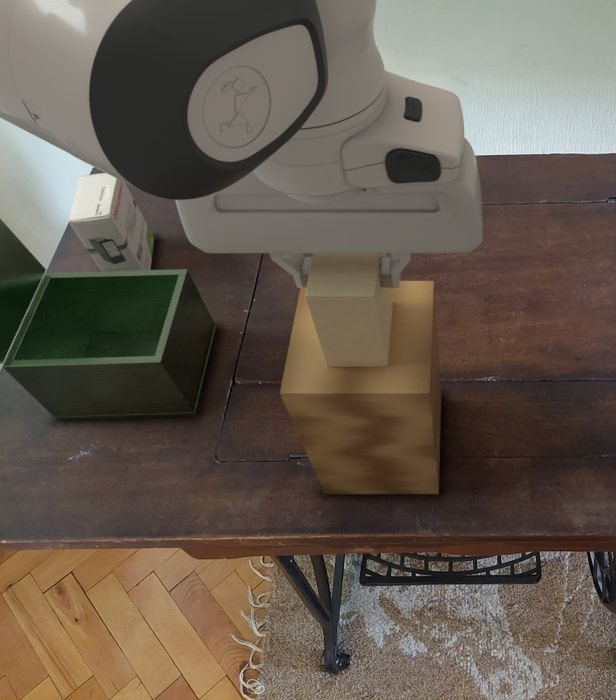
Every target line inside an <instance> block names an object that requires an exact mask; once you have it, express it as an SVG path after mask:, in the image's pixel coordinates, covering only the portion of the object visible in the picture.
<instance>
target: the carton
mask: <svg viewBox="0 0 616 700" xmlns="http://www.w3.org/2000/svg"><path fill="white" fill-rule="evenodd" d="M311 257H312V261H311V267H310V272H309V277H308V283H307V288H306V293H305V298H306V301H307V304H308V307H309V310H310V313H311V317H312V320H313V323H314V326H315V329H316V333H317V336H318V339H319V342H320V345H321V349H322V352H323V355H324V358H325V361H326V365H327V367H388V358H389V346H390V334H391V322H392V310H393V297H392V290H391V288H384V287H381V284H380V283H381V281H380V278H379V269H380V260H381V257H388V255H387V253H312V256H311Z"/></svg>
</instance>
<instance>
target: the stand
mask: <svg viewBox="0 0 616 700" xmlns="http://www.w3.org/2000/svg"><path fill="white" fill-rule="evenodd" d="M391 290H392V297H393V310H392V322H391V334H390V346H389V358H388V367H327V365H326V361H325V358H324V355H323V352H322V349H321V345H320V342H319V339H318V336H317V333H316V329H315V326H314V323H313V320H312V317H311V313H310V310H309V307H308V304H307V301H306V298H305V293H306V288H299V293H298V297H297V298H298V299H297V303H296V309H295V314H294V319H293V324H292V328H291V329H292V330H291V334H290V340H289V344H288V350H287V356H286V360H285V365H284V369H283V370H284V371H283V376H282V380H281V385H280V391H279V394H280V395H279V396H280V397H281V399H282V402H283V404H284V406H285V408H286V411H287V412H288V415H289V417H290V419H291V422H292V424H293V426H294V429H295V431H296V433H297V436H298V438H299V440H300V442H301V445H302V447H303V449H304V451H305V453H306V456H307V458H308V460H309V463H310V465H311V467H312V469H313V471H314V473H315V476H316V478H317V481H318V483H319V485H320V487H321V489H322V492H323V494H324V495H439V493H440V463H441V462H440V457H441V420H442V419H441V418H442V388H441V387H442V386H441V373H440V371H441V370H440V356H439V340H438V324H437V323H438V322H437V307H436V290H435V281H434V280H400V288H391Z"/></svg>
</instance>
